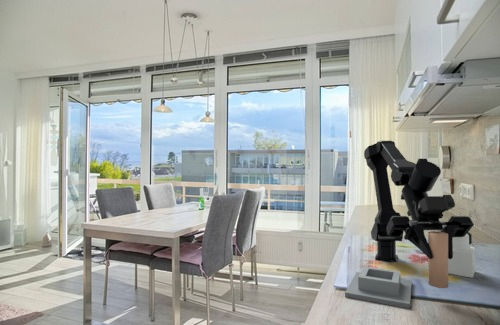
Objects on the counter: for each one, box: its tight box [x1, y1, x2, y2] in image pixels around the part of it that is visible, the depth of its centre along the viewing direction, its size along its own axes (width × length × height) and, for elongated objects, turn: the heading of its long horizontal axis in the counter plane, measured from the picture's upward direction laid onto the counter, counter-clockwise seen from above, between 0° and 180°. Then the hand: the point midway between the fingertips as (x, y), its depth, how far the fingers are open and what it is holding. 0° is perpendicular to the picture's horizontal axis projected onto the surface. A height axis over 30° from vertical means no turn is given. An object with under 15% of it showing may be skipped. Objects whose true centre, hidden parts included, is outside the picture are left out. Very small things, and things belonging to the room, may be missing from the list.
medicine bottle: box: [448, 232, 476, 279], centre depth 93 cm, size 7×7×12 cm
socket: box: [344, 265, 413, 309], centre depth 81 cm, size 16×14×4 cm
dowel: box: [427, 230, 449, 289], centre depth 75 cm, size 4×4×12 cm
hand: (441, 258), depth 73 cm, fingers closed on dowel, 4 cm apart
